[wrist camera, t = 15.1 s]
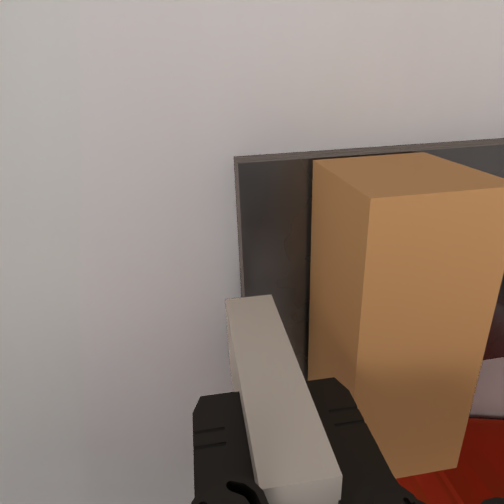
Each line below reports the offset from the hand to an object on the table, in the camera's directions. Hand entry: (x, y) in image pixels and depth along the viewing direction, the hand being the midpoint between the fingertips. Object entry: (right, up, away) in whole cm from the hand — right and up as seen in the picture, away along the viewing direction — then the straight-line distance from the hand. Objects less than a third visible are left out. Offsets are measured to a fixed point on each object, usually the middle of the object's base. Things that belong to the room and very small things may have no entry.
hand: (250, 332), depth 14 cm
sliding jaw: (+4, +1, +2) cm, 5 cm away
